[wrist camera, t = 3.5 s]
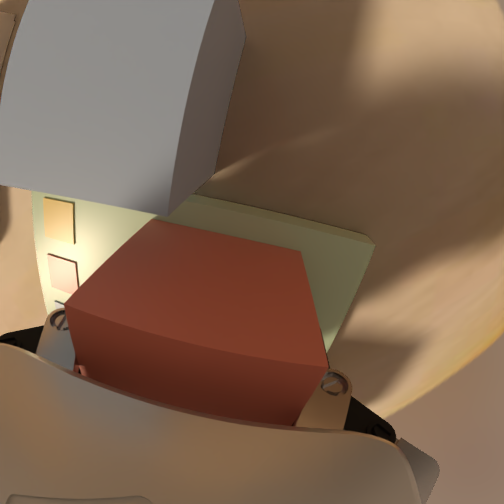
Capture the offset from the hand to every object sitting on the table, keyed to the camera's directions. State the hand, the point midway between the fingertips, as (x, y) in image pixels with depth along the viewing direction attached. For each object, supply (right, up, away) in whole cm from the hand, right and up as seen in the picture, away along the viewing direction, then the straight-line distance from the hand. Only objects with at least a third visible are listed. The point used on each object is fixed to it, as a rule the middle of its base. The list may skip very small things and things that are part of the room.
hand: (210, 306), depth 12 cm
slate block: (-2, +9, -2) cm, 9 cm away
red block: (0, 0, +1) cm, 1 cm away
